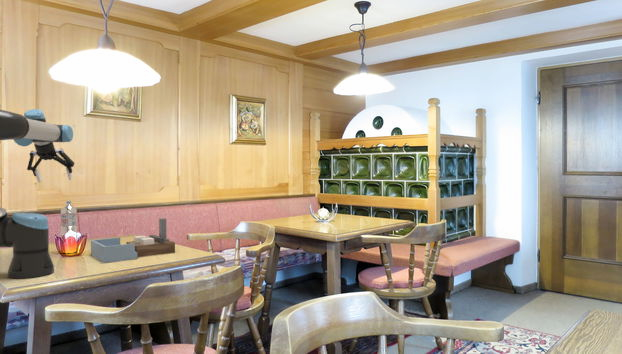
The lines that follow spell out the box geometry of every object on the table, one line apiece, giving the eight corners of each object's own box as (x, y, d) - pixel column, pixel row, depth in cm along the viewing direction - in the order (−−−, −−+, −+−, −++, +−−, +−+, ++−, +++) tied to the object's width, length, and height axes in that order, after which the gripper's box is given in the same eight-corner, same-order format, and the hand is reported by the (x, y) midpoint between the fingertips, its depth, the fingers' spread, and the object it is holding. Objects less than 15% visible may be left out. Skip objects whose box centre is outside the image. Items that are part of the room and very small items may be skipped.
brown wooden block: (175, 252, 215) (174, 242, 215) (136, 257, 204) (136, 246, 204) (163, 248, 228) (163, 238, 228) (126, 252, 216) (126, 242, 216)
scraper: (172, 242, 215) (172, 219, 215) (160, 243, 211) (159, 220, 211) (161, 238, 227) (161, 217, 226) (149, 239, 223) (149, 217, 223)
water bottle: (59, 253, 215) (58, 201, 215) (74, 251, 220) (73, 200, 220) (64, 254, 211) (63, 202, 210) (79, 252, 216) (78, 201, 215)
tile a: (154, 243, 210) (154, 238, 210) (143, 245, 207) (143, 239, 207) (150, 242, 214) (150, 237, 214) (139, 243, 211) (139, 238, 211)
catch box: (137, 258, 200) (137, 243, 200) (103, 263, 192) (103, 246, 191) (121, 251, 219) (121, 237, 219) (90, 254, 210) (90, 240, 210)
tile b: (147, 241, 216) (147, 236, 216) (136, 243, 213) (136, 237, 213) (144, 240, 220) (144, 235, 220) (133, 241, 217) (133, 236, 217)
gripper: (73, 136, 212) (84, 173, 224) (15, 139, 207) (29, 177, 219) (70, 143, 206) (81, 181, 218) (10, 147, 201) (25, 186, 213)
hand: (55, 179), depth 218 cm, fingers open, 13 cm apart
